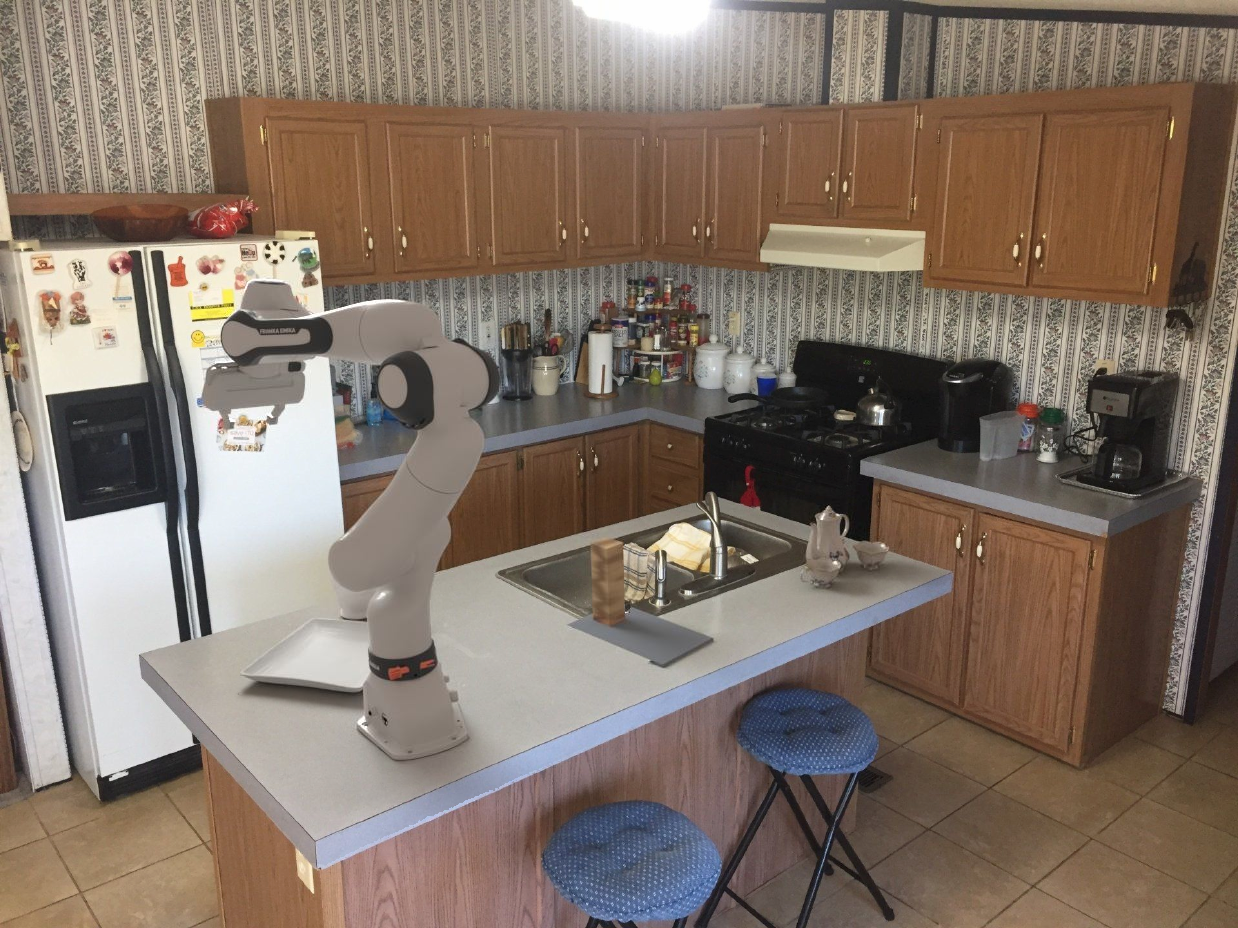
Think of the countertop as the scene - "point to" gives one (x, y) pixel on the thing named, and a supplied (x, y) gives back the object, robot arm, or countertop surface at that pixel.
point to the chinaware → (836, 549)
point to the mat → (646, 636)
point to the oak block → (608, 581)
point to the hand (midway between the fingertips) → (250, 426)
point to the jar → (352, 601)
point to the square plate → (317, 657)
